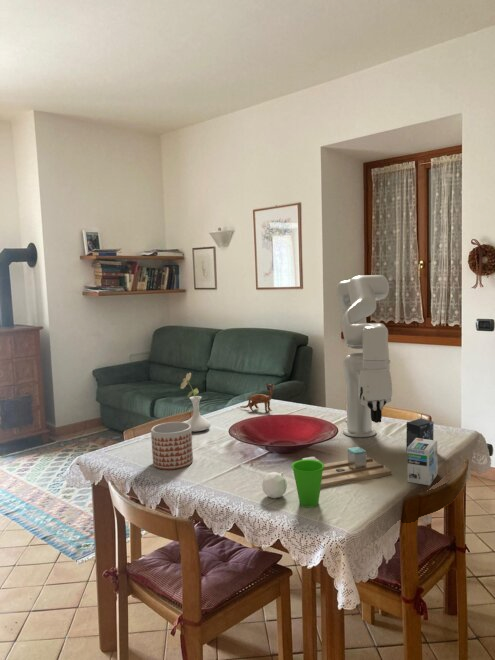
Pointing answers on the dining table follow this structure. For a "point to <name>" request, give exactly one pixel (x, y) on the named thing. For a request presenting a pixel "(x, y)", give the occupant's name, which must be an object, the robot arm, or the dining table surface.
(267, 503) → the dining table surface
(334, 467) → the gauge board
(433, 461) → the light bulb box
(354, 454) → the block
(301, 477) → the cup
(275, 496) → the ornament
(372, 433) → the robot arm
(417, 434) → the box
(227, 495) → the dining table surface
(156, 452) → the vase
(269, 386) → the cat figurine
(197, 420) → the flower in vase
